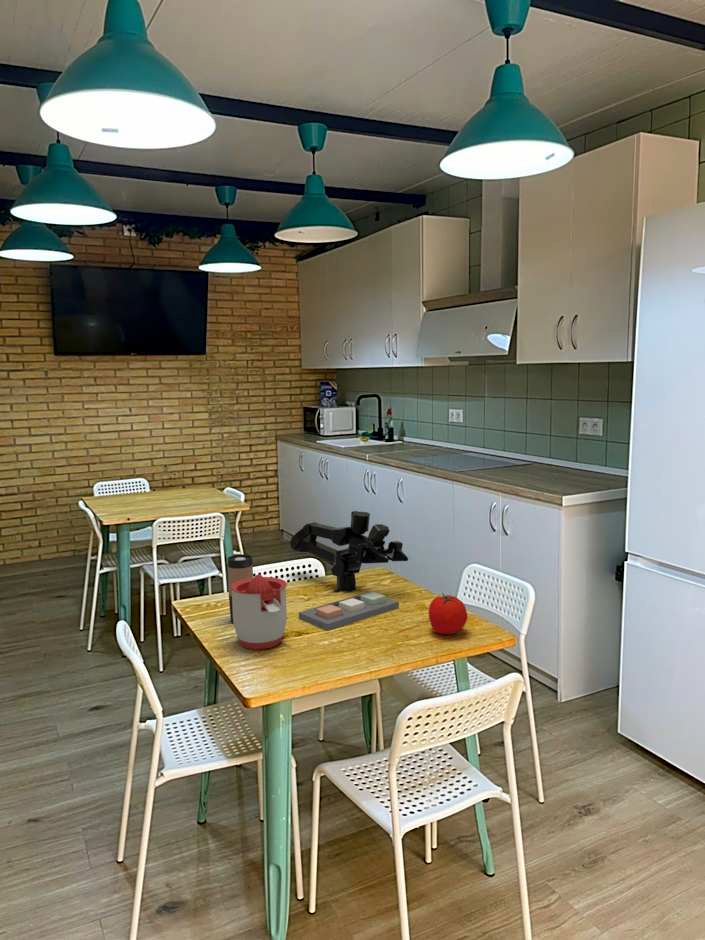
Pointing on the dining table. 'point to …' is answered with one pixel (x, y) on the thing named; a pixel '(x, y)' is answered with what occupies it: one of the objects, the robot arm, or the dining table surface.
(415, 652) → the dining table surface
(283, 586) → the citrus juicer
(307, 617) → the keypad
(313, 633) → the dining table surface
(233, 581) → the travel mug
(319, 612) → the key terracotta
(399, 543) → the robot arm
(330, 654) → the dining table surface
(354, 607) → the key offwhite
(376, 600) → the key sage
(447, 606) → the tomato
